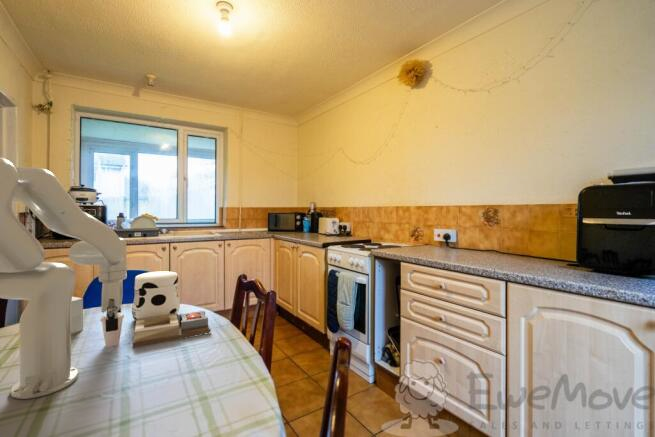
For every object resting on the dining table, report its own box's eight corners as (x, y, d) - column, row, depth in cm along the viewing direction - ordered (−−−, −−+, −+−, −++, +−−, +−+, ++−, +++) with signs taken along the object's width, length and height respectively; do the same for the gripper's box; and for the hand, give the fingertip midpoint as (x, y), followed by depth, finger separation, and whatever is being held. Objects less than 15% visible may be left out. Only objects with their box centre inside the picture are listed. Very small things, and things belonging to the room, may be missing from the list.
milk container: (187, 311, 131) (187, 271, 130) (165, 326, 113) (165, 280, 113) (148, 310, 131) (149, 270, 130) (121, 325, 114) (121, 279, 113)
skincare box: (58, 332, 106) (58, 299, 106) (72, 327, 110) (72, 296, 110) (70, 334, 104) (70, 301, 104) (83, 329, 109) (83, 298, 108)
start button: (201, 325, 111) (201, 316, 111) (186, 327, 108) (187, 319, 108) (199, 320, 115) (199, 312, 115) (185, 323, 113) (185, 314, 113)
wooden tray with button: (210, 333, 108) (210, 320, 108) (132, 347, 96) (132, 332, 96) (204, 320, 121) (204, 308, 120) (135, 331, 108) (135, 318, 108)
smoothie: (128, 340, 101) (128, 300, 101) (113, 349, 95) (113, 306, 94) (111, 339, 102) (111, 299, 101) (95, 347, 95) (95, 305, 95)
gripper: (102, 270, 103) (103, 318, 104) (94, 282, 88) (95, 338, 89) (128, 268, 107) (129, 314, 108) (124, 280, 92) (125, 333, 93)
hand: (113, 325), depth 99 cm, fingers open, 9 cm apart
